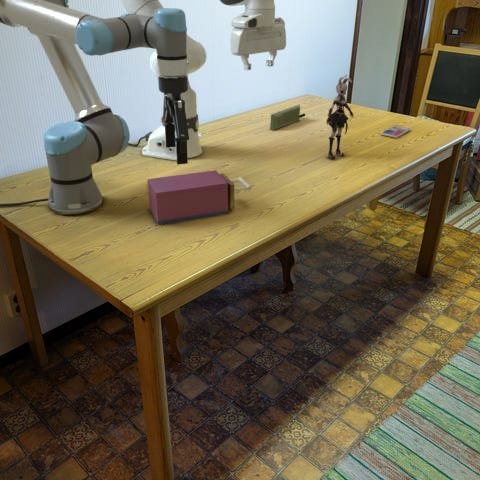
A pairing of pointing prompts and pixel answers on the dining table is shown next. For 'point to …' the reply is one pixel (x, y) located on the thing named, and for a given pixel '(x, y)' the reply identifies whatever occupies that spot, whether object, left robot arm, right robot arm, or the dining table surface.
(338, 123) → the figurine
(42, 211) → the dining table surface
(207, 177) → the magenta elongated box
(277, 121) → the handheld radio
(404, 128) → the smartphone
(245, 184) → the drawer
